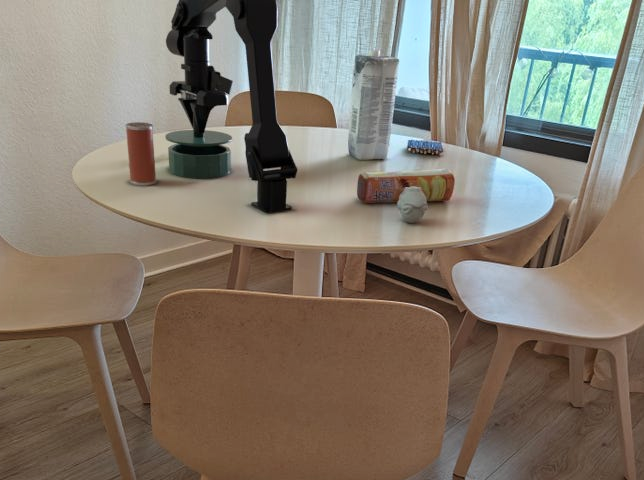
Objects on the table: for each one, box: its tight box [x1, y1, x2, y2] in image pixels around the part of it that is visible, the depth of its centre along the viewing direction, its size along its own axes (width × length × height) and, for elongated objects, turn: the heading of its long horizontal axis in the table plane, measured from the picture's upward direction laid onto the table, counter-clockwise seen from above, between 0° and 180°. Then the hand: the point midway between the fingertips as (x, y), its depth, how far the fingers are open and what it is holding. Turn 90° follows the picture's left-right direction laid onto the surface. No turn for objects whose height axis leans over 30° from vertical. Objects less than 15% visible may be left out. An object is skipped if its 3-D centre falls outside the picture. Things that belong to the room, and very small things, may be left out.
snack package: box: [356, 168, 456, 204], centre depth 143 cm, size 21×7×7 cm, turn 105°
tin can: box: [125, 121, 157, 187], centre depth 143 cm, size 6×6×12 cm
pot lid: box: [164, 114, 233, 147], centre depth 153 cm, size 16×16×6 cm
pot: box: [167, 143, 232, 180], centre depth 157 cm, size 15×15×5 cm
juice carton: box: [347, 50, 400, 161], centre depth 174 cm, size 9×10×27 cm
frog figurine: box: [396, 186, 428, 224], centre depth 130 cm, size 6×7×7 cm
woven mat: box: [406, 139, 444, 156], centre depth 191 cm, size 10×11×2 cm
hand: (198, 131), depth 154 cm, fingers closed on pot lid, 2 cm apart
